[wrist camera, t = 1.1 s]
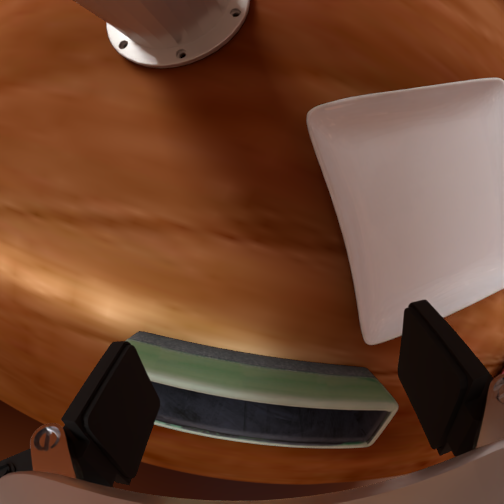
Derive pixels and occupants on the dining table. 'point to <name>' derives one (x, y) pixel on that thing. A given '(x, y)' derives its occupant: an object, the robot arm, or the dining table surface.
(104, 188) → the dining table surface
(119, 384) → the robot arm
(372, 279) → the salad plate
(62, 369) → the dining table surface
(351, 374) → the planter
